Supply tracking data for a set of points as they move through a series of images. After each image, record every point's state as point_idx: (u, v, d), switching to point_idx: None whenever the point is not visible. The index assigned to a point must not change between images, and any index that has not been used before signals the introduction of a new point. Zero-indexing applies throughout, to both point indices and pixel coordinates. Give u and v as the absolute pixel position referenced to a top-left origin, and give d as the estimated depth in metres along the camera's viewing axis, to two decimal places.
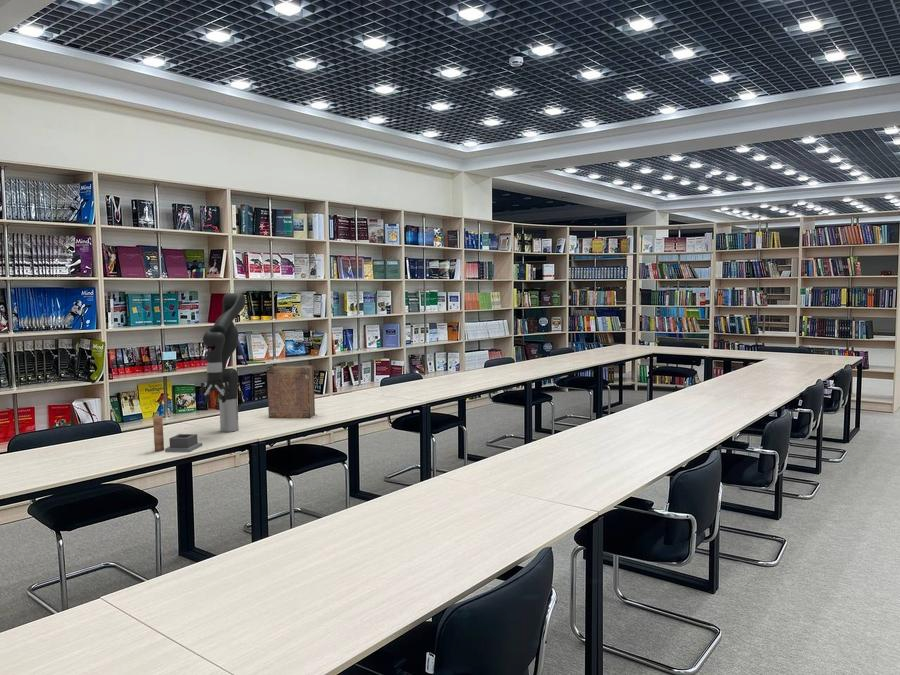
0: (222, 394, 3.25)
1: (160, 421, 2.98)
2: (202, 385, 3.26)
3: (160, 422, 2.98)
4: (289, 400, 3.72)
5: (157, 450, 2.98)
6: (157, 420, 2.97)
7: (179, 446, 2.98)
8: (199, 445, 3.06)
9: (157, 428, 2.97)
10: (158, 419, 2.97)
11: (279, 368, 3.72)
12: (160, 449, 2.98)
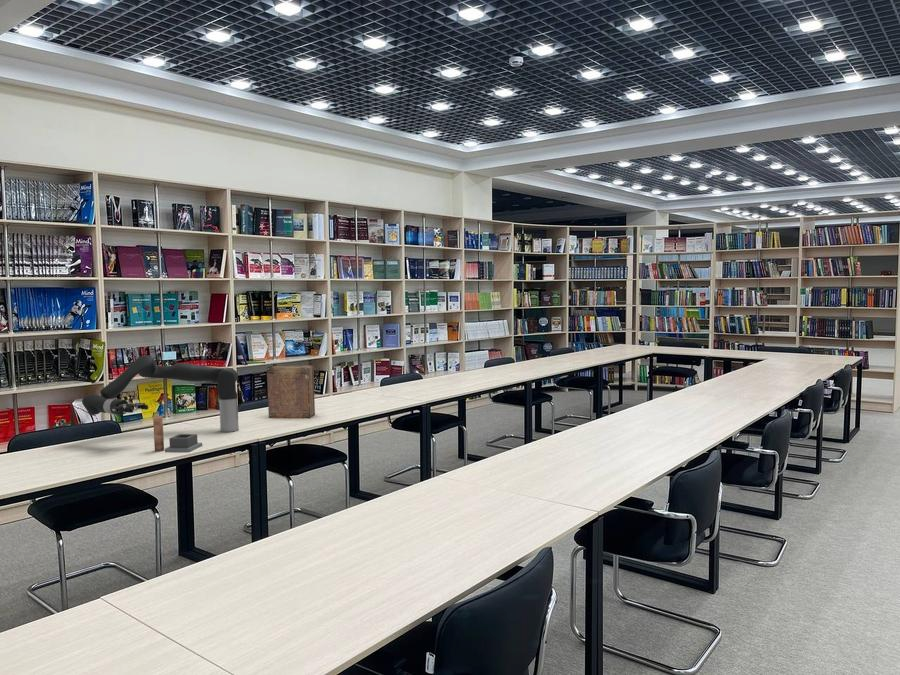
0: (141, 404, 3.09)
1: (160, 421, 2.98)
2: (115, 407, 3.01)
3: (160, 422, 2.98)
4: (289, 400, 3.72)
5: (157, 450, 2.98)
6: (157, 420, 2.97)
7: (179, 446, 2.98)
8: (199, 445, 3.06)
9: (157, 428, 2.97)
10: (158, 419, 2.97)
11: (279, 368, 3.72)
12: (160, 449, 2.98)
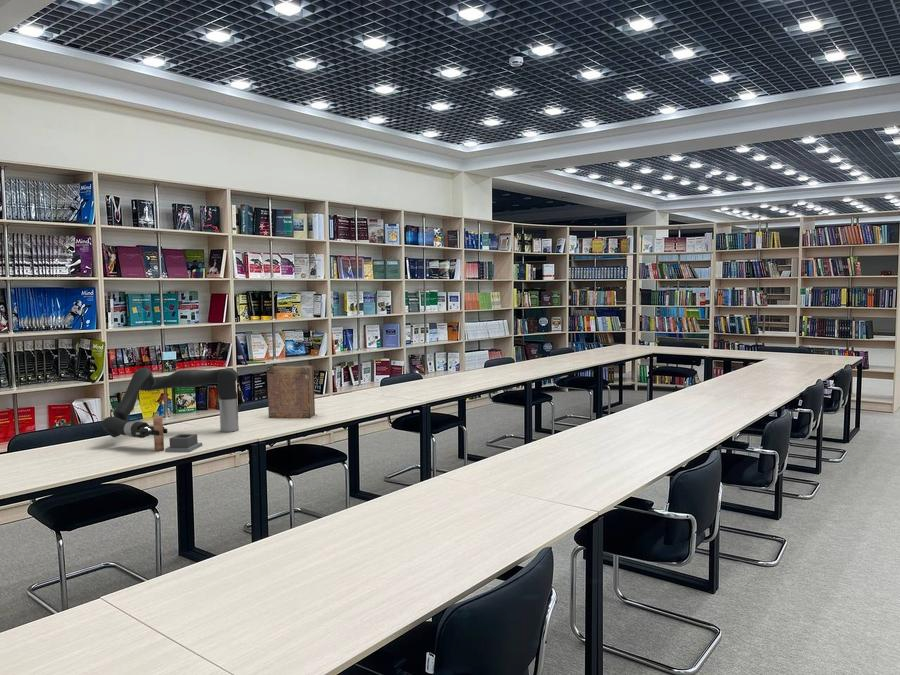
0: None
1: (160, 421, 2.98)
2: (138, 430, 2.96)
3: (160, 422, 2.98)
4: (289, 400, 3.72)
5: (157, 450, 2.98)
6: (157, 420, 2.97)
7: (179, 446, 2.98)
8: (199, 445, 3.06)
9: (157, 428, 2.97)
10: (158, 419, 2.97)
11: (279, 368, 3.72)
12: (160, 449, 2.98)
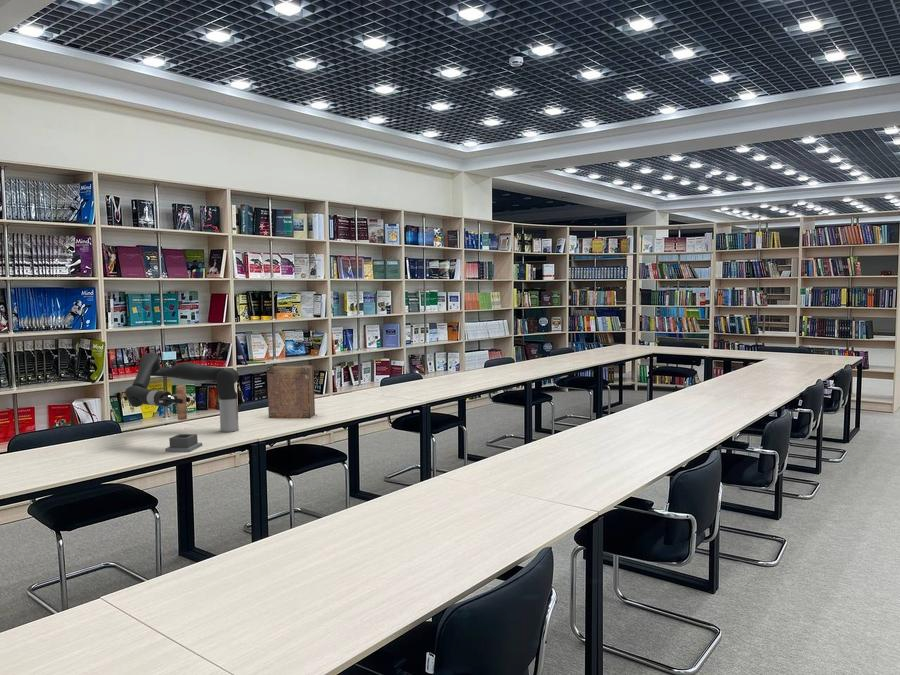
0: None
1: (183, 389, 3.00)
2: (162, 398, 2.98)
3: (183, 390, 3.00)
4: (289, 400, 3.72)
5: (180, 418, 3.00)
6: (180, 388, 2.99)
7: (179, 446, 2.98)
8: (199, 445, 3.06)
9: (180, 396, 2.99)
10: (181, 387, 2.99)
11: (279, 368, 3.72)
12: (183, 417, 3.00)
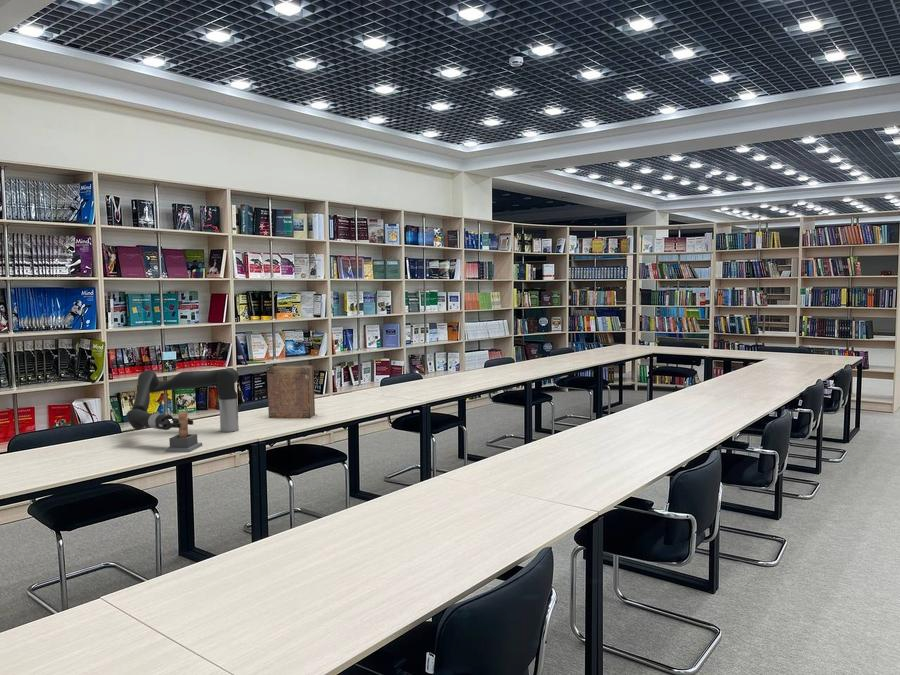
0: None
1: (185, 416, 3.01)
2: (161, 422, 2.99)
3: (185, 417, 3.01)
4: (289, 400, 3.72)
5: None
6: (182, 415, 3.00)
7: (179, 446, 2.98)
8: (199, 445, 3.06)
9: (182, 423, 3.00)
10: (183, 414, 3.00)
11: (279, 368, 3.72)
12: None
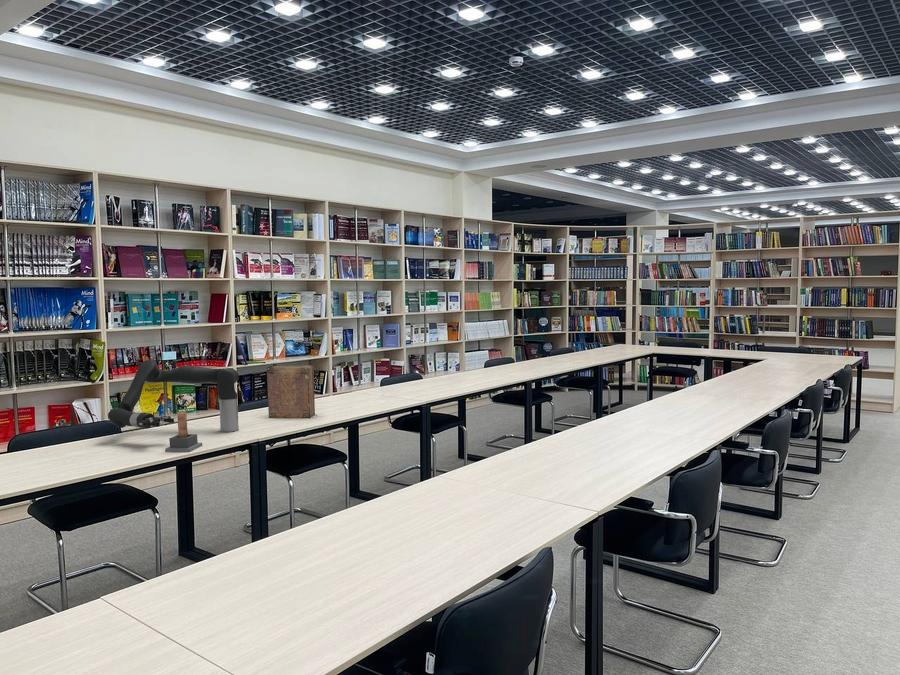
0: (166, 417, 3.12)
1: (184, 416, 3.01)
2: (142, 421, 3.04)
3: (184, 417, 3.01)
4: (289, 400, 3.72)
5: None
6: (181, 415, 3.00)
7: (179, 446, 2.98)
8: (199, 445, 3.06)
9: (181, 423, 3.00)
10: (182, 414, 3.00)
11: (279, 368, 3.72)
12: None
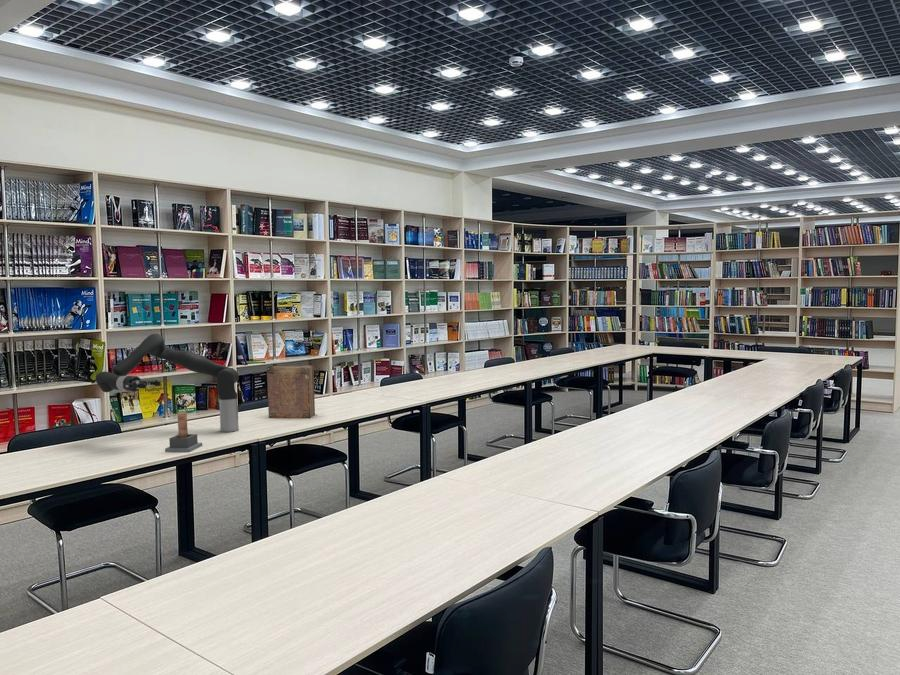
0: (153, 380, 3.11)
1: (184, 416, 3.01)
2: None
3: (184, 417, 3.01)
4: (289, 400, 3.72)
5: None
6: (181, 415, 3.00)
7: (179, 446, 2.98)
8: (199, 445, 3.06)
9: (182, 423, 3.00)
10: (182, 414, 3.00)
11: (279, 368, 3.72)
12: None
